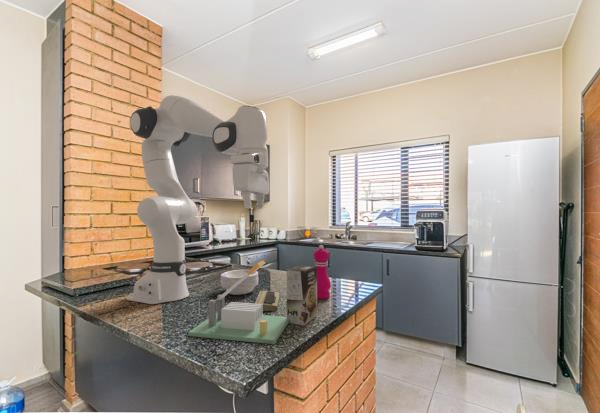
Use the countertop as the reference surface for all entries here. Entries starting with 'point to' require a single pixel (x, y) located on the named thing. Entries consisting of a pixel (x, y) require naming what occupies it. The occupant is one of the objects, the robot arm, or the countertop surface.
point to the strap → (241, 280)
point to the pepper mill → (322, 273)
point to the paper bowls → (233, 276)
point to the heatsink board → (243, 334)
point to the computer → (268, 300)
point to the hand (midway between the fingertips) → (254, 208)
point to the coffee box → (301, 294)
